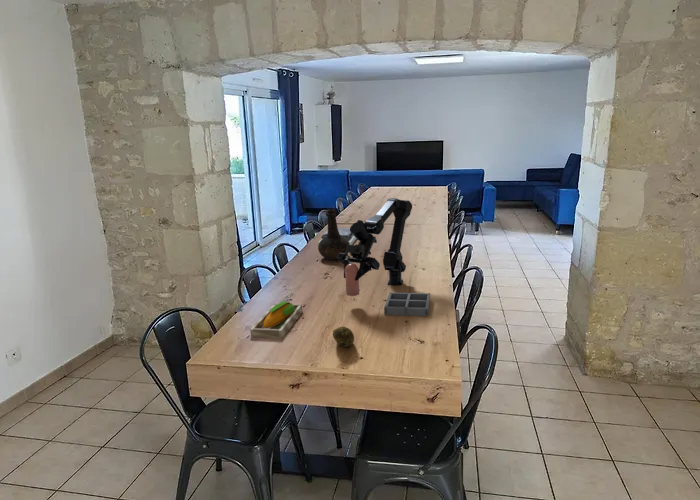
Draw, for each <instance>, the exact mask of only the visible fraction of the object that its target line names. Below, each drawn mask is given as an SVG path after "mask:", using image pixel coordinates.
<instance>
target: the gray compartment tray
mask: <svg viewBox="0 0 700 500" xmlns="http://www.w3.org/2000/svg"><path fill="white" fill-rule="evenodd" d="M385 301H386V302H385V304H384V307H383V309H384V315H387V316H412V317H428V316H429V312H430V311H429V310H430V302H431V293H429V292H428V293H427V292H426V293H423V292H422V293H421V292H418V293H417V292H389V294H388V297H387V299H386V300H385Z"/></svg>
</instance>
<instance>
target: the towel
mask: <svg viewBox="0 0 700 500" xmlns="http://www.w3.org/2000/svg"><path fill="white" fill-rule="evenodd" d="M338 231H339V234H340V235H341V236H342V237H344V238H346V239H347V240H348V241H350V240H351V238H352V235H353V234H352V233H351V232H350V227H342V228H341V227H340V228H338ZM327 233H328V229H327V230H325V232H324V233H323V234H322V235H321V239H323V238H325V237H327Z"/></svg>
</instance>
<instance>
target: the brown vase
mask: <svg viewBox="0 0 700 500" xmlns="http://www.w3.org/2000/svg"><path fill="white" fill-rule="evenodd" d="M336 212H337V211H336V209H334V208H328V209H327V210H326V213H325V214H326V215H327V230H328V233H327V237H325V238H323V239H322V238H321V239H322V240H321V239H320V240H321V241H320V240H319V241H320V242H319V241H318V242H319V245H318V246H317V249H318V252H319V255H321V257H323V258H324V259H325V260H329V261H335V260H336V261H337V260H338V259H337V258H336V257H337V255H338V253H346V254H347V255H348V254H350V253H349V252H346V248H347V245H350V243H349V241H348V240H347V239H346V238H344V237H342V236H341V235H340V234H339V231H338V224H337V217H336ZM338 261H339V260H338Z"/></svg>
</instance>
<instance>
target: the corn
mask: <svg viewBox="0 0 700 500" xmlns="http://www.w3.org/2000/svg"><path fill="white" fill-rule="evenodd" d="M276 304H277V305H275V306H274V307H273V308H272V309H271V310H270V312H271V313H270V314H269V315H268V316H267V317H266V319H265V321H264V323H263V327H262V328H263V329H271V328H274V327H275V329H280V328H281V327H282V326H283V324H284V323H285V322H286V321H287V320H288V318H289V317H290V316H291V315H292V313H293V312H294V310H295V308H294V306H293V304H294V303H292V302H289V301H285V300H283V301H281V302H279V303H276Z"/></svg>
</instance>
